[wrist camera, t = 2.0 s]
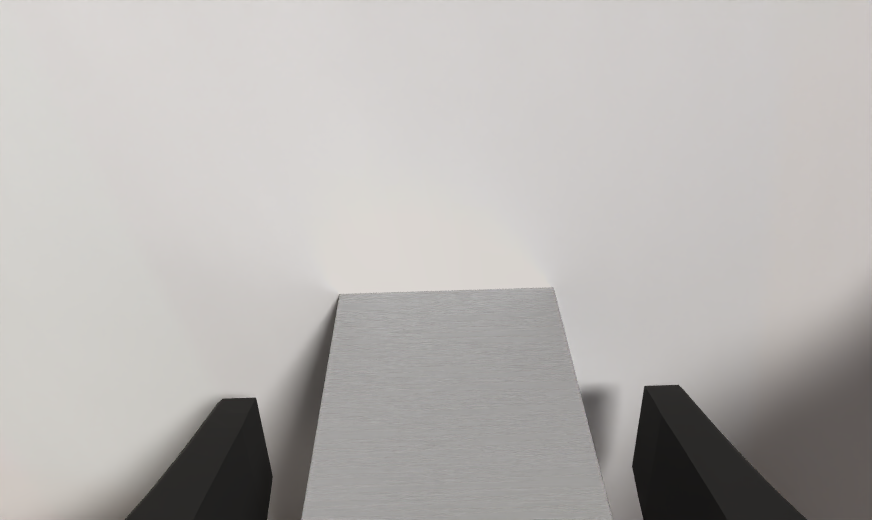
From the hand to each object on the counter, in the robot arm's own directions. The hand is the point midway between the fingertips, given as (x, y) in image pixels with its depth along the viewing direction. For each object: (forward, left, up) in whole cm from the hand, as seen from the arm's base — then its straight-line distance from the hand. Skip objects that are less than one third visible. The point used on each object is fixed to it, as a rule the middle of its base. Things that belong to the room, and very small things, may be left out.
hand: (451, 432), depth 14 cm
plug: (0, 0, -2) cm, 2 cm away
